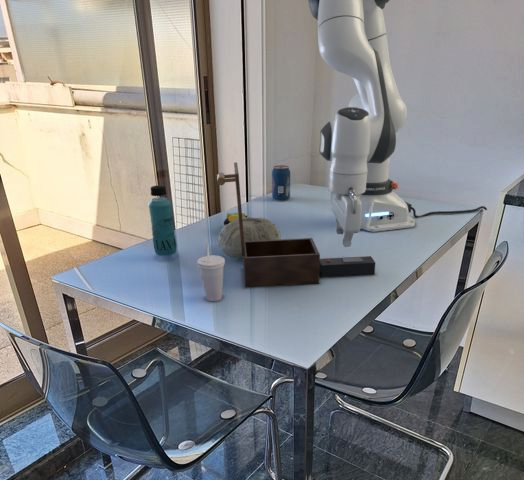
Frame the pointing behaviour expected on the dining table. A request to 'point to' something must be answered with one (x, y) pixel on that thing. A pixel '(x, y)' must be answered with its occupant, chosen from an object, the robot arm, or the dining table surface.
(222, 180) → the lid
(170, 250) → the beverage bottle
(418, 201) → the dining table surface
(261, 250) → the chest
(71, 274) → the dining table surface
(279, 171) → the soda can
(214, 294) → the smoothie
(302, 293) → the dining table surface
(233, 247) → the decorative shell
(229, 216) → the gadget
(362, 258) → the remote
